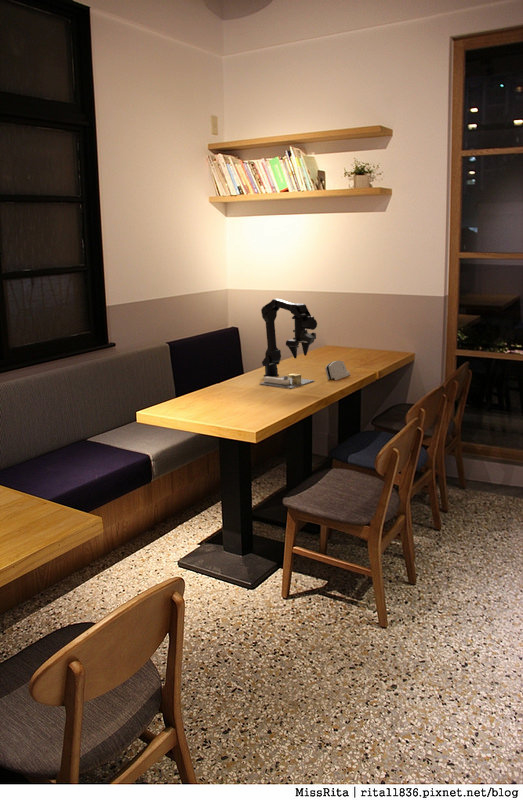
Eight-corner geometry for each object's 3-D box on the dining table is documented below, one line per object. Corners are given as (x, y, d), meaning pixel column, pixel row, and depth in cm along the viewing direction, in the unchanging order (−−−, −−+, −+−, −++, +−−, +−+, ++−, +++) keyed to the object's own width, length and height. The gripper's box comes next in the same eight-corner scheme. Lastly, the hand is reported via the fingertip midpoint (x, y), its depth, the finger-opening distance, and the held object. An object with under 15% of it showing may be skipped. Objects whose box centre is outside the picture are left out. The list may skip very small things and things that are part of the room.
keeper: (288, 384, 367) (287, 374, 366) (292, 382, 370) (292, 373, 369) (296, 385, 364) (296, 375, 362) (301, 384, 367) (301, 374, 365)
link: (291, 383, 365) (291, 375, 364) (286, 385, 361) (286, 377, 360) (268, 380, 375) (267, 372, 374) (263, 381, 371) (262, 374, 370)
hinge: (335, 380, 372) (329, 362, 372) (328, 382, 375) (322, 365, 375) (350, 374, 385) (345, 357, 385) (343, 376, 388) (338, 359, 388)
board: (259, 384, 370) (259, 383, 369) (283, 377, 385) (283, 376, 385) (290, 388, 356) (290, 387, 356) (314, 381, 372) (314, 380, 372)
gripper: (302, 331, 353) (302, 361, 357) (322, 326, 367) (322, 355, 371) (284, 329, 360) (285, 359, 364) (305, 325, 374) (305, 353, 378)
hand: (300, 356), depth 369 cm, fingers open, 9 cm apart
